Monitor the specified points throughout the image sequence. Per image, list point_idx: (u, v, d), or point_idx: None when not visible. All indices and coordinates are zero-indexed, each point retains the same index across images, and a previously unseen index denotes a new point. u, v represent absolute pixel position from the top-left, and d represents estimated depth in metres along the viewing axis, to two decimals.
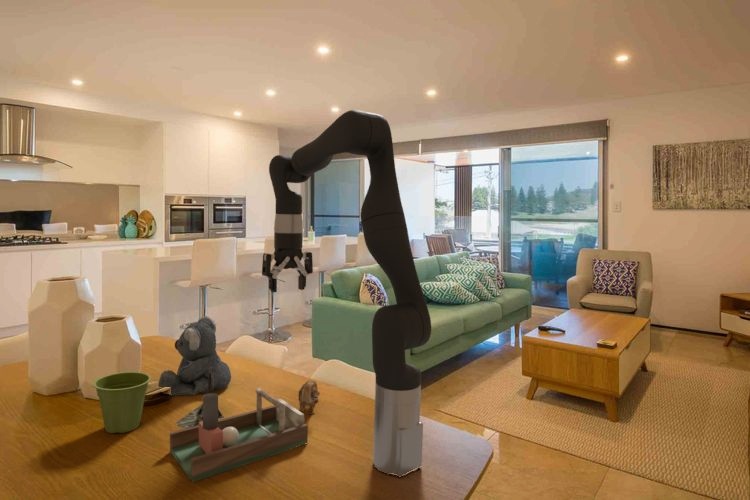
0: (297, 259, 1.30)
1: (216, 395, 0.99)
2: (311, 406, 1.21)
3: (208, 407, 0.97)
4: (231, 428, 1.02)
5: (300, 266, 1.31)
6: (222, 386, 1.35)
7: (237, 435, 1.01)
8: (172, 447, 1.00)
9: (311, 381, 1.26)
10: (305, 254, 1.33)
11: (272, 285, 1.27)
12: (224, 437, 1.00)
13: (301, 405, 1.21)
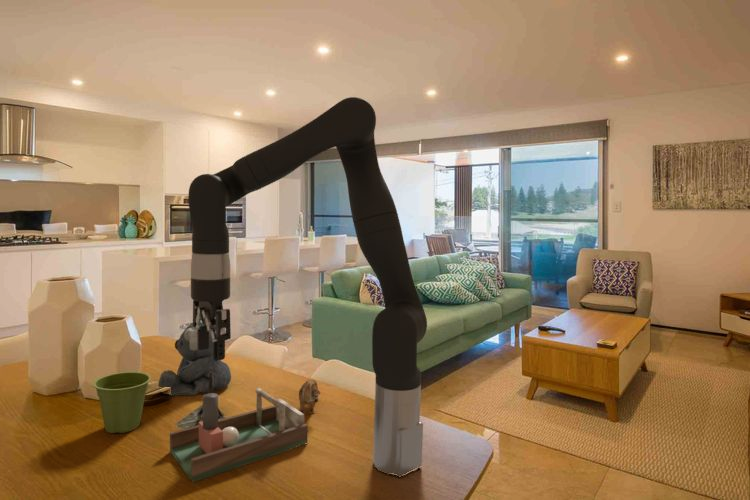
0: None
1: (216, 395, 0.99)
2: (311, 405, 1.22)
3: (208, 407, 0.97)
4: (231, 428, 1.02)
5: None
6: (222, 386, 1.35)
7: (237, 435, 1.01)
8: (172, 447, 1.00)
9: (311, 380, 1.27)
10: None
11: None
12: (224, 437, 1.00)
13: (301, 404, 1.21)
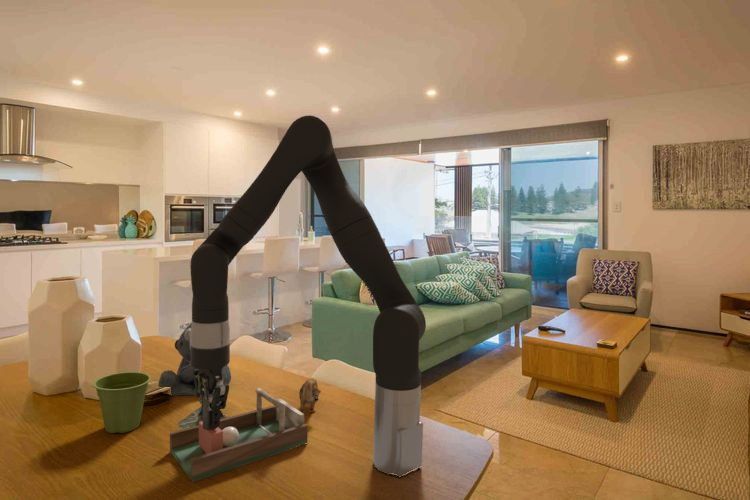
0: None
1: None
2: (312, 404, 1.23)
3: None
4: (231, 428, 1.02)
5: None
6: None
7: (237, 435, 1.01)
8: (172, 447, 1.00)
9: (311, 379, 1.27)
10: None
11: None
12: (224, 437, 1.00)
13: (302, 403, 1.22)
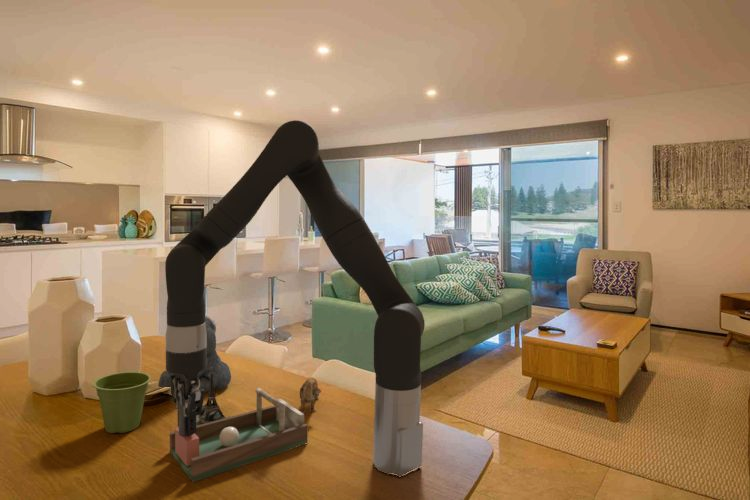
0: None
1: None
2: (312, 403, 1.23)
3: None
4: (231, 428, 1.02)
5: None
6: (222, 386, 1.35)
7: (237, 435, 1.01)
8: (172, 447, 1.00)
9: (311, 379, 1.28)
10: None
11: None
12: (224, 437, 1.00)
13: (302, 402, 1.22)
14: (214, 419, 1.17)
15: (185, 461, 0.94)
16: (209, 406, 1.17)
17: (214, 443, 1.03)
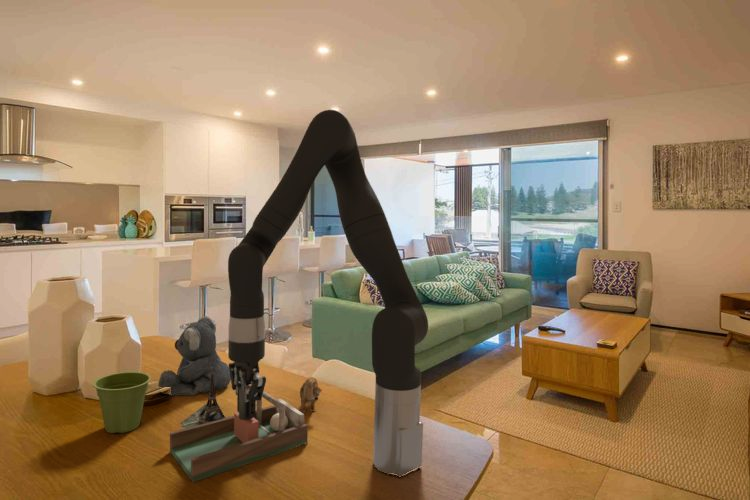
0: None
1: None
2: (312, 403, 1.23)
3: (244, 399, 1.02)
4: (273, 420, 1.08)
5: None
6: (222, 386, 1.35)
7: None
8: (172, 447, 1.00)
9: (312, 378, 1.28)
10: None
11: None
12: (276, 430, 1.08)
13: (303, 402, 1.23)
14: (214, 419, 1.17)
15: None
16: (209, 406, 1.17)
17: (214, 443, 1.03)
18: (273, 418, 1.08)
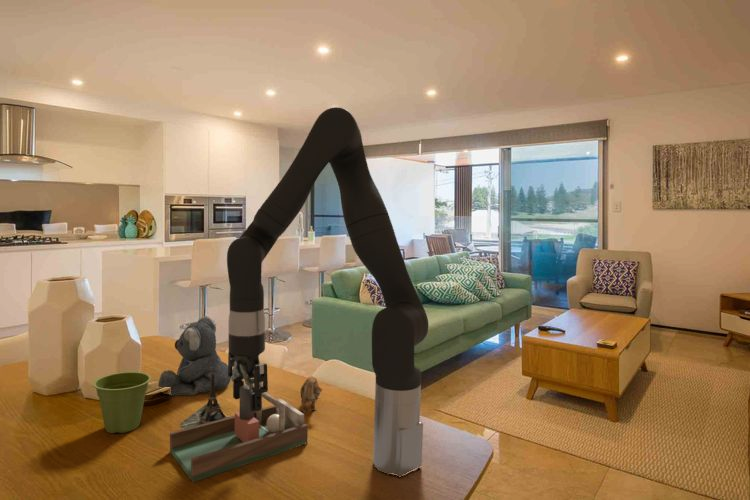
0: None
1: None
2: (313, 402, 1.24)
3: (245, 398, 1.02)
4: (268, 425, 1.07)
5: None
6: (222, 386, 1.35)
7: (276, 421, 1.07)
8: (172, 447, 1.00)
9: (312, 378, 1.28)
10: None
11: None
12: (275, 432, 1.08)
13: (303, 402, 1.23)
14: (215, 419, 1.17)
15: None
16: (210, 406, 1.17)
17: (214, 443, 1.03)
18: (267, 423, 1.07)
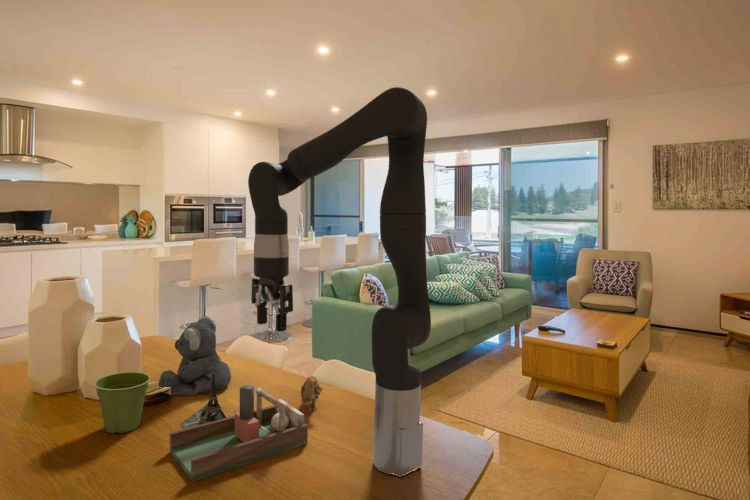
0: None
1: (252, 387, 1.04)
2: (313, 402, 1.24)
3: (245, 398, 1.02)
4: (274, 419, 1.08)
5: None
6: (222, 386, 1.35)
7: None
8: (172, 447, 1.00)
9: (312, 378, 1.29)
10: None
11: None
12: (277, 429, 1.08)
13: (303, 401, 1.23)
14: None
15: None
16: (211, 407, 1.17)
17: (214, 443, 1.03)
18: (275, 417, 1.08)
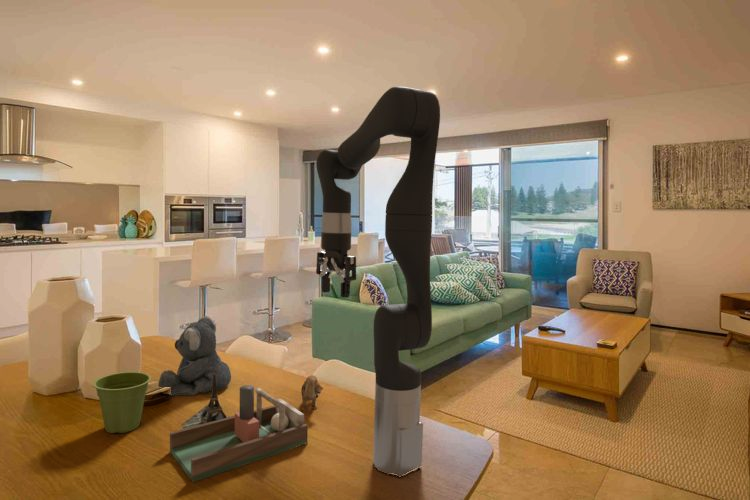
0: None
1: (252, 387, 1.04)
2: (313, 401, 1.25)
3: (245, 398, 1.02)
4: (274, 419, 1.08)
5: None
6: (222, 386, 1.35)
7: None
8: (172, 447, 1.00)
9: (312, 377, 1.29)
10: None
11: None
12: (276, 429, 1.08)
13: (304, 400, 1.24)
14: None
15: None
16: (211, 407, 1.16)
17: (214, 443, 1.03)
18: (274, 417, 1.08)
